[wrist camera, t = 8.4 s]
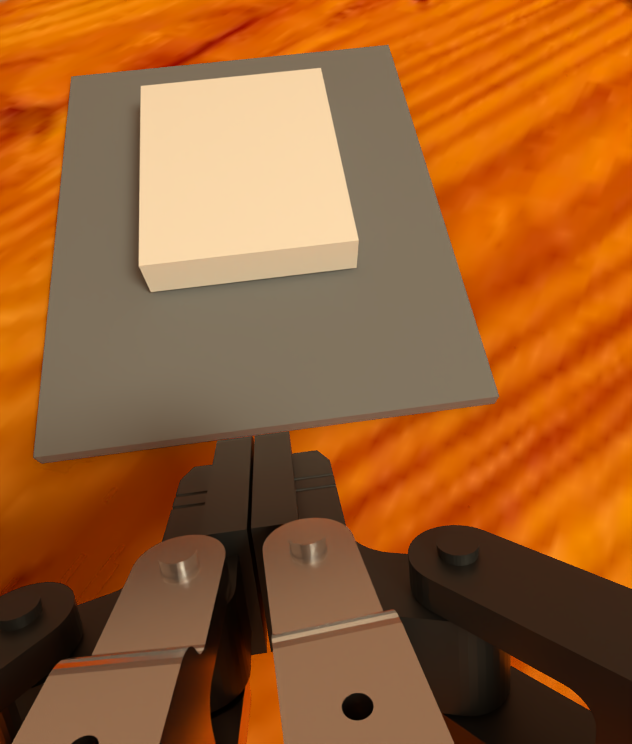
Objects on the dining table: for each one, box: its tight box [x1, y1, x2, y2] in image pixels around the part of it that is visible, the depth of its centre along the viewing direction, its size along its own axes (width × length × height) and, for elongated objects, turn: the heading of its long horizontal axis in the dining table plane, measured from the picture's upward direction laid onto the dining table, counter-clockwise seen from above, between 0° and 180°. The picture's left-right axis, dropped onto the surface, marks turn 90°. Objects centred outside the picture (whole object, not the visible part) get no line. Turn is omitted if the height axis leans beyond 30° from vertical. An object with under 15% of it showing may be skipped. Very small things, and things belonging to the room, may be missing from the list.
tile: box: [139, 68, 359, 292], centre depth 24 cm, size 8×2×10 cm
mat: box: [33, 45, 499, 463], centre depth 24 cm, size 20×16×1 cm
